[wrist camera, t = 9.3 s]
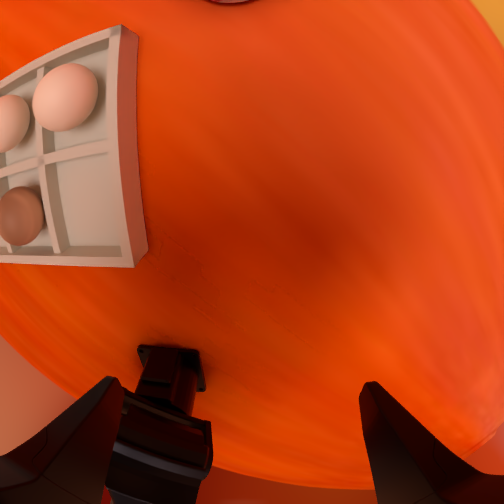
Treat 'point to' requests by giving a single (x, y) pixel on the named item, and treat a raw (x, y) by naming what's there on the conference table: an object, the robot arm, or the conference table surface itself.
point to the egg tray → (82, 162)
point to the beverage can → (228, 1)
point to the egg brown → (21, 215)
